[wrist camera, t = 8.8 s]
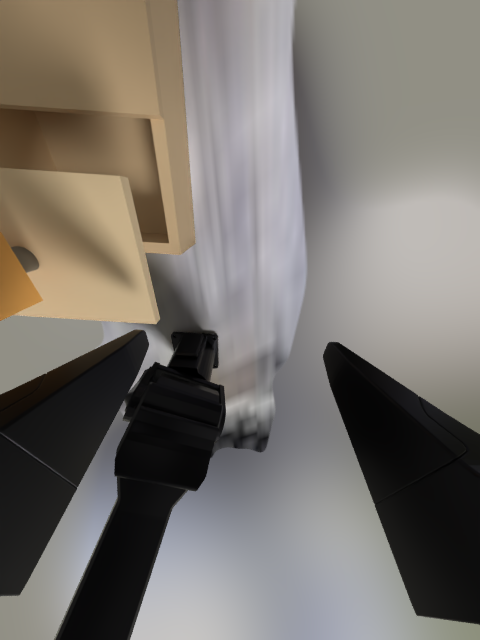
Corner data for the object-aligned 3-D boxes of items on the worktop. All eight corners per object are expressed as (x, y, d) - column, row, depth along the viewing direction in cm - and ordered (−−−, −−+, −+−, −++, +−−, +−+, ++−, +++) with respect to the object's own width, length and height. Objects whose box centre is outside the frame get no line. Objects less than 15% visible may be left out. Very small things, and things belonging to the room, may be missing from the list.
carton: (195, 243, 18) (178, 256, 14) (79, 235, 18) (23, 246, 14) (174, -35, 10) (114, -235, 6) (-35, -51, 10) (-274, -267, 6)
